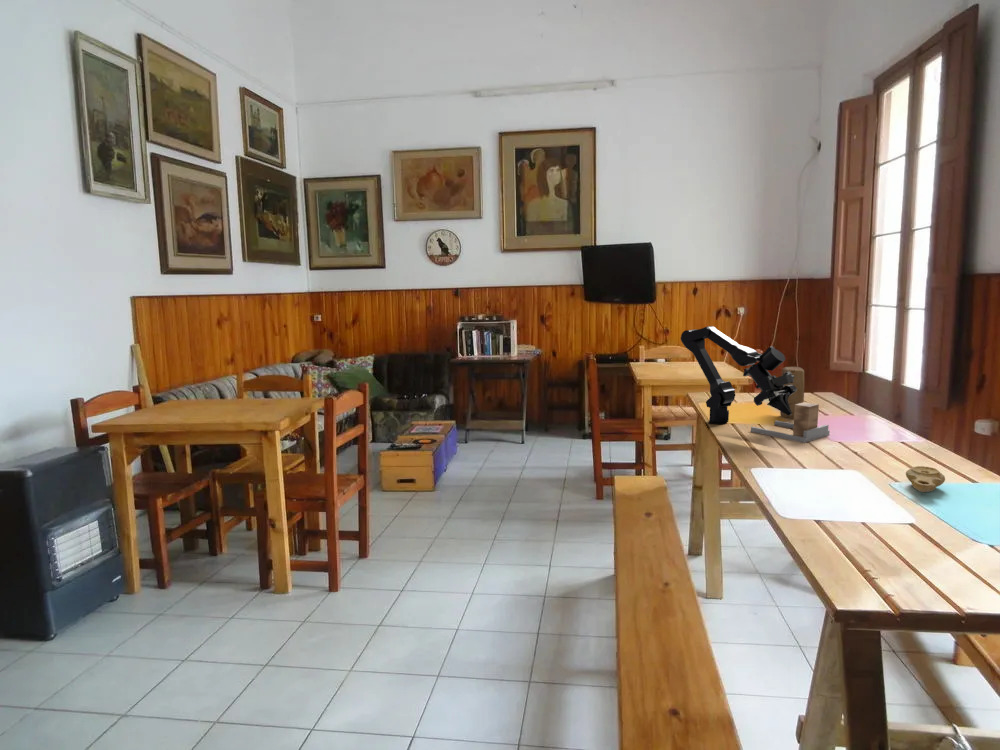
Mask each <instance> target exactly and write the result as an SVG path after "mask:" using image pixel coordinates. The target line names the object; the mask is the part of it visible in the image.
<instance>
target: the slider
mask: <svg viewBox="0 0 1000 750" xmlns="http://www.w3.org/2000/svg"><path fill="white" fill-rule="evenodd" d="M818 421H819V403H812V402H806V401H804V402H803V403H799V404H795V410H794V420H793V424H794V428H793V431H792V432H793V433H792V435H795V436H800V437H803V433H804V431H806V430H810V429H813V428H816V427H818V423H819V422H818Z"/></svg>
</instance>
